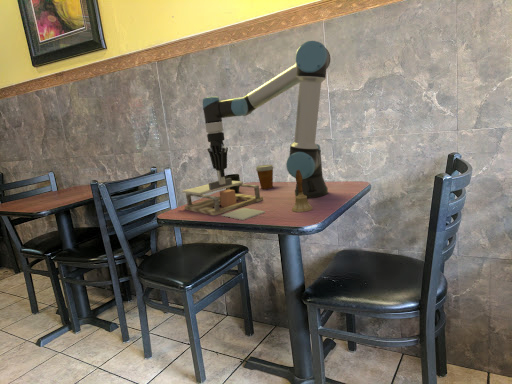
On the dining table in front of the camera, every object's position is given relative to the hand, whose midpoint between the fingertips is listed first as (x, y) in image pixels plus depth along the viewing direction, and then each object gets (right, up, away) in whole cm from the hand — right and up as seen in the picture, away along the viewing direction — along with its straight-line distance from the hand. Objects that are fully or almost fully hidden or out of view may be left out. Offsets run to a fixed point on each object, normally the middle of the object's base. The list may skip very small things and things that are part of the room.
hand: (222, 183), depth 170 cm
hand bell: (+34, -11, -22) cm, 42 cm away
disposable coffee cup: (+22, -2, +31) cm, 38 cm away
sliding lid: (-5, -2, +7) cm, 9 cm away
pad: (+10, -13, -19) cm, 25 cm away
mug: (+4, -4, +30) cm, 31 cm away
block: (+3, -10, 0) cm, 11 cm away
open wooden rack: (+1, -10, +3) cm, 10 cm away
